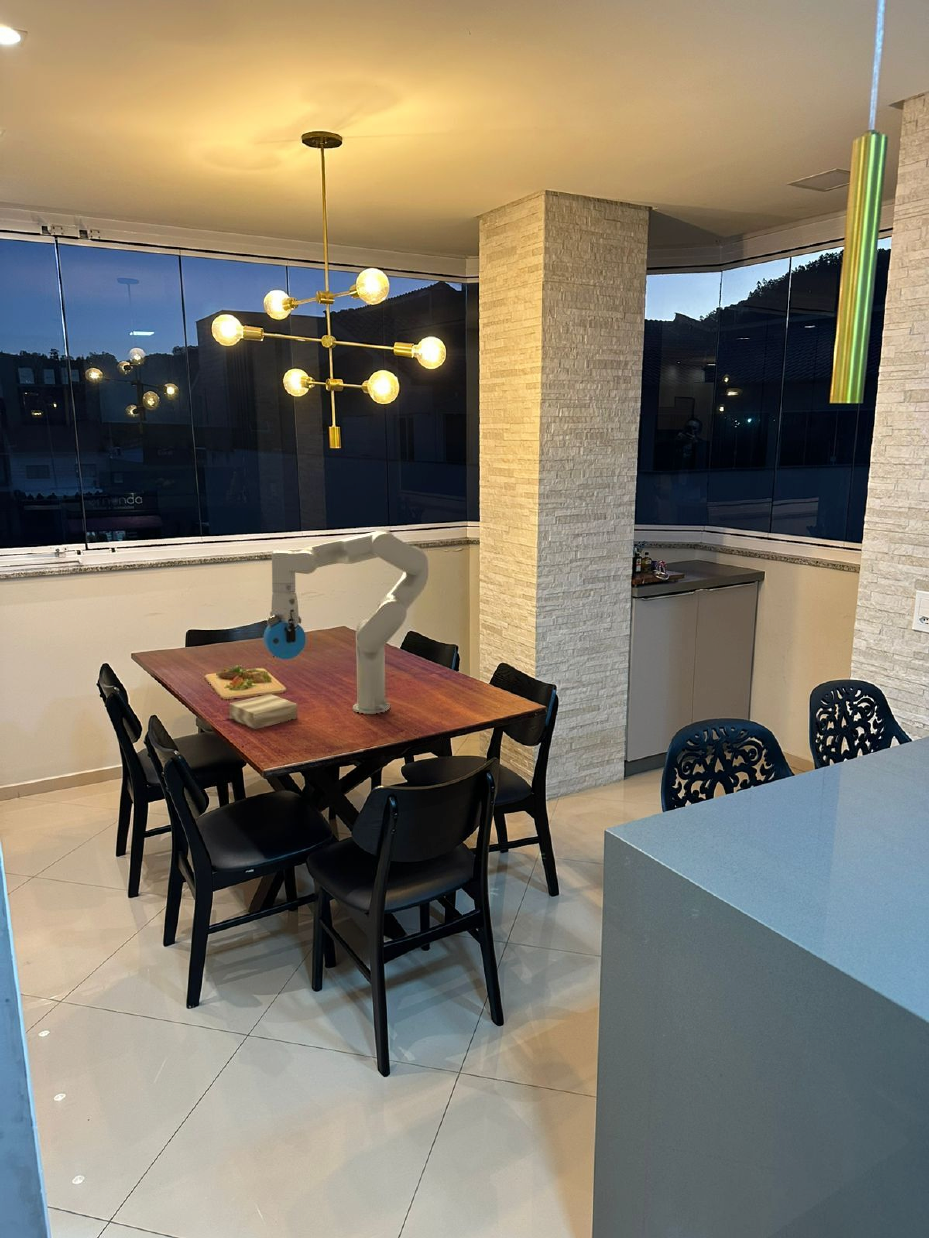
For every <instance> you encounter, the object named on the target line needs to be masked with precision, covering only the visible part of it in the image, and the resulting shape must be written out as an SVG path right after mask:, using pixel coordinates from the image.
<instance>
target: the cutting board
mask: <svg viewBox="0 0 929 1238" xmlns="http://www.w3.org/2000/svg"><path fill="white" fill-rule="evenodd" d="M205 678H206V679H205ZM204 679H205V680H206V681H207V682H209V683H208V684H209V685H210V684H211V685H210V686H211V687H212V689H213V688H214V689H215V690H214V689H213V690H214V691H215V693H217V695H218V696H219V695H220V696H219V697H220V699H222V698H223V699H222V700H226V699H227V701H228V699H230V700H235V699H234V698H238V699H244V698H251V697H252V696H253V697H259V696H258V695H261V696H264V695H269V694H272V695H275V694H282V693H283V692H284V691H285V692H287V688H286V687H285V686H284V685H283V684H282V682H280V681H279V680H278V679H276V677H274V676H273V675H272V674H271V673H270V672H268V671H267V670H266V669H265V668H262V667H261V668H258V667H257V668H250V669H242V665H235V666H233V668H223V669H222V670H221V671H218V672H215V673H214V672H213V673H207V674H206V675H204ZM285 692H284V693H285ZM284 693H283V694H284ZM253 697H252V698H253Z"/></svg>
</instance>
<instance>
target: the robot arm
mask: <svg viewBox="0 0 929 1238" xmlns="http://www.w3.org/2000/svg"><path fill="white" fill-rule="evenodd" d="M376 558H380V559H381V560H382V561H384V562H386V563H388V564H390V565H392V566H393V567H395V568H396V569H399V570H401V571H403V573H402V574H401V577H400V579H398V580H397V582H396V583H395V585H394V586H393V587H392V588H391V589H390V590H389V592H388V593H387V594H386V595H384V596H383V598H381V600H380V601H379V602H378V604H377V607H376V608H377V610H376V611H375V612H374V613H373V614H372V615H371V616H370V617H368V618H365V619H362V620H361V621H360V622H359V623H358V624H357V626H356V629H355V650H356V652H355V653H356V697H357V699H356V701H357V702H356V703H355V704H353V705H352V710H353V711H354V712H355V713H357V712H359V713H358V714H361V713H363V714H364V715H377V714H376V713H378V714H381V713H380V712H383V713H386V712H387V710H388V709H389V708H390V707H391V703H390V702H387V700H388V699H387V697H386V686H385V685H386V673H385V672H386V671H385V669H386V668H385V665H386V662H385V661H386V660H385V659H386V658H385V652H386V651H385V645H386V644H387V643H388V642H389V641H390V640H391V639H392V637H394V635H395V634H396V633H397V632H398V630H400V629H401V627H402V626H403V625H404V623H405V621H406V619H407V611H408V610H409V609H410V607H411V606H412V605H413V604H414V603H415V602H416V600H417V599H418V597H419V596H420V595H421V594H422V592H423V591H424V589H425V587H426V586H427V581H428V579H429V560H428V556H427V554H426V553H425V551H424V550H423V549H421V547H419V546H414V545H413V546H412V545H410V544H409V543H407V542H405V541H403V540H401V539H399V538H398V537H396V536H395V535H394V533H392V532H391V531H389V530H387V529H386V530H385V529H384V530H383V529H382V530H375V531H373V532H368V533H365V534H360V535H357V536H351V537H347V538H343V539H338V540H335V541H330V542H326V543H321V544H318V545H313V546H309V547H306V548H302V549H301V550H300V551H298V552H297V551H295V552H294V551H292V550H288V549H277V550H274V551H273V552H272V553H271V588H272V589H271V591H272V594H271V611H270V613H269V615H270V617H271V616H273V615H278V616H279V617H280V619H281V620H280V621H281V622H284V623H286V626H287V630H288V631H286V642H287V643H291V642H295V641H296V628H297V625H298V624H300V623H299V617H300V616H299V614H300V613H299V604H298V597H297V595H298V594H297V592H296V574H302V575H304V574H305V575H310V574H313V573H314V572H315V571H316V570H317V569H318V568H322V567H327V566H331V565H338V564H342V565H343V564H344V565H352V564H357V563H361V562H364V561H365V562H366V561H368V560H373V559H376ZM288 620H291V621H288ZM289 624H291V626H290V625H289ZM389 710H390V709H389ZM389 710H388V711H389ZM385 711H386V712H385Z"/></svg>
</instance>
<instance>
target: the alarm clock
mask: <svg viewBox="0 0 929 1238" xmlns="http://www.w3.org/2000/svg"><path fill="white" fill-rule="evenodd" d="M280 620H281V619H280V617H279V616H278V615H273V616H270V617H269V618H268V619H267V622H266V623H267V626H266V628H265V630H264V633H263V636H262V639H263V644H264V647H265V649H266V650H267V651H268V652H269V653H270V654H271V655H272V658H273V659H274V657H275V658H276V659H280V660H291V659H294V658H296V657H298V655H300V654H302V652H303V650H304V648H305V646H306V642H307V639H306V638H307V637H306V632H305V630H304V629H303V626H301V625H300V624H301V623H302V618H301V616H299V623H298V625H297V628H296V641H295V642H291V643H287V642H286V631H288V630H287V626H286V623H284V622H281V621H280ZM288 621H291V620H288ZM289 625H290V626H291V624H289Z"/></svg>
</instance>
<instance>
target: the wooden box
mask: <svg viewBox="0 0 929 1238" xmlns="http://www.w3.org/2000/svg"><path fill="white" fill-rule="evenodd" d="M228 709H229V713H228V714H229V718H230V719H231V720H233V719H234V720H233V721H235V722H238V723H240V724H243V725H245V726H248V727H249V728H252V729H254V730H258V729H261V728H265V726H266V727H268V726H272V725H273V726H274V725H277V724H280V722H281V723H284V722H288V720H289V721H292V720H291V719H293V720H296V719H298V716H299V715H298V703H296V702H293V701H290V700H288V699H285V698H283V697H280V696H277V695H275V694H269V695H261V696H254V697H252V698H251V697H250V698H248V699H244V700H243V699H242V700H238V701H234V702H229V704H228Z"/></svg>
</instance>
